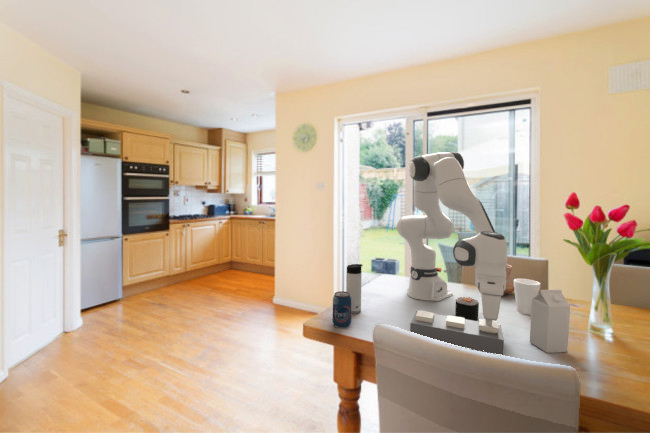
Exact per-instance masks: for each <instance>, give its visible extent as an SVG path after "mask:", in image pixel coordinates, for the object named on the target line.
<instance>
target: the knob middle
mask: <svg viewBox="0 0 650 433" xmlns="http://www.w3.org/2000/svg"><path fill="white" fill-rule="evenodd" d="M446 316H447V319H446V326H452V327H458V328H463V329H464V323H465V318H462V317H456V316H455V315H450V314H447V315H446Z"/></svg>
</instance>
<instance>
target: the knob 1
mask: <svg viewBox="0 0 650 433" xmlns="http://www.w3.org/2000/svg"><path fill="white" fill-rule="evenodd" d="M417 311H418V312H417V314H416V320H418V321H424V322H430V323H432V322H433V319H434V314H435V312H432V311H425V310H421V309H420V310H419V309H418V310H417Z"/></svg>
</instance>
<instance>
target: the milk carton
mask: <svg viewBox="0 0 650 433" xmlns="http://www.w3.org/2000/svg"><path fill="white" fill-rule="evenodd" d="M570 313H571V305H570V303H569V301H568V300H567V298H566V297H565V296H564V295H563V293H562V289H540V293H539V294H538V295H537V296H535V297H534V298H532V308H531V315H530V327H529V328H530V329H529V331H530V332H529V343H530V344H532V345H533V346H535V347H537V348H538V349H540V350H542V351H544V352H545V353H546V354H547V353H567V352H568V346H569V345H568V344H569V332H570V331H569V330H570V327H569V326H570Z"/></svg>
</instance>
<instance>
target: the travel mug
mask: <svg viewBox="0 0 650 433" xmlns="http://www.w3.org/2000/svg"><path fill="white" fill-rule="evenodd" d="M362 267H363V264H361V263H353V264H349V265H347V266H346V276H345V278H346V285H345V288H346V289H345V292H348V293H350V297H351V315H353V314H354V315H355V314H356V315H357V314H360V313H361V312H362V274H363V273H362Z"/></svg>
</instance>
